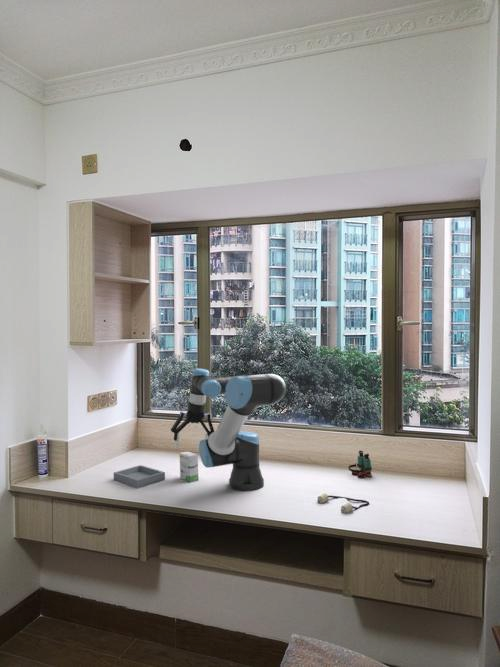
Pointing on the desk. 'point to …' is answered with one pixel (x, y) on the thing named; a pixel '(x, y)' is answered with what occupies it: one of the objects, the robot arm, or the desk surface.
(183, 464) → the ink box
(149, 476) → the gray tray
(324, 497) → the grey balls with cord
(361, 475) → the binoculars
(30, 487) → the desk surface
